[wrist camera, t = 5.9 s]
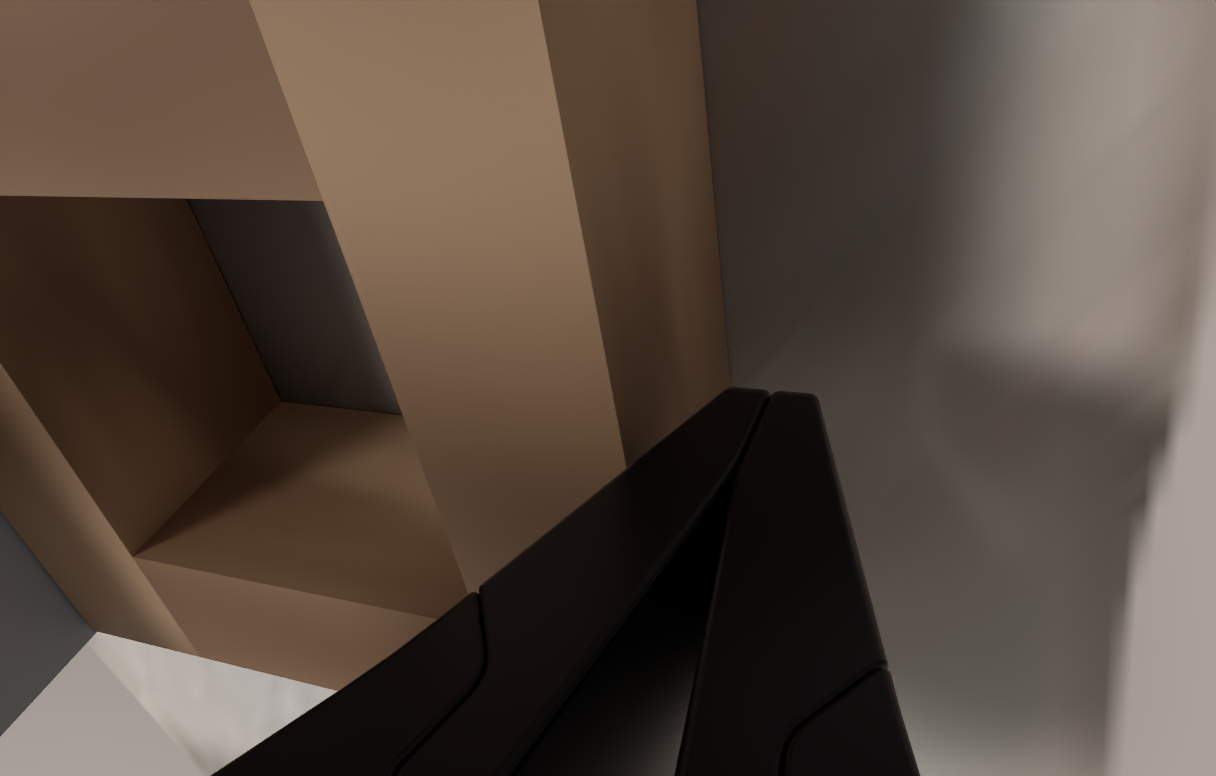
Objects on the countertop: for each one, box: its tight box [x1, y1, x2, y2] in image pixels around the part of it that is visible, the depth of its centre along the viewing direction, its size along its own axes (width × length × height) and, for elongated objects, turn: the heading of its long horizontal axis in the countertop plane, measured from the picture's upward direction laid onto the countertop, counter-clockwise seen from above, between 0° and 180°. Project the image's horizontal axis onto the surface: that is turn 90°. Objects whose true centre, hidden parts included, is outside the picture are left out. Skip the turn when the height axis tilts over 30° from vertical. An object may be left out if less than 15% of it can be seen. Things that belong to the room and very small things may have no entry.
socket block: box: [0, 0, 731, 691], centre depth 11 cm, size 10×10×4 cm
